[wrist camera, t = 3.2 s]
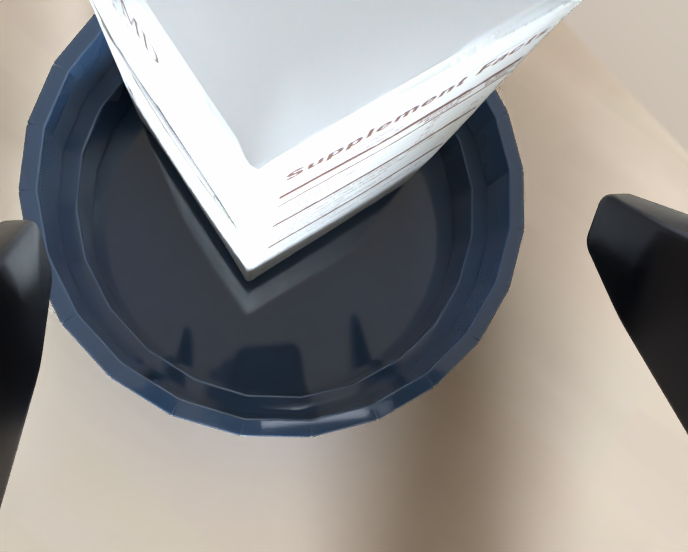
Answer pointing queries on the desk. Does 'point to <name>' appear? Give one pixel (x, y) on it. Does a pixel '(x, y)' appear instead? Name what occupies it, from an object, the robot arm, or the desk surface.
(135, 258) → the basin
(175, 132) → the white packaging box
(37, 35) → the desk surface
